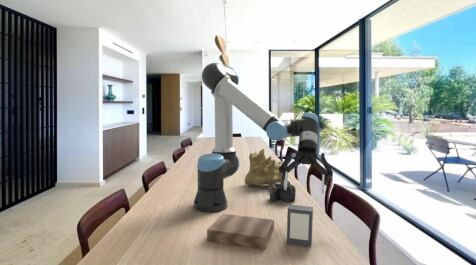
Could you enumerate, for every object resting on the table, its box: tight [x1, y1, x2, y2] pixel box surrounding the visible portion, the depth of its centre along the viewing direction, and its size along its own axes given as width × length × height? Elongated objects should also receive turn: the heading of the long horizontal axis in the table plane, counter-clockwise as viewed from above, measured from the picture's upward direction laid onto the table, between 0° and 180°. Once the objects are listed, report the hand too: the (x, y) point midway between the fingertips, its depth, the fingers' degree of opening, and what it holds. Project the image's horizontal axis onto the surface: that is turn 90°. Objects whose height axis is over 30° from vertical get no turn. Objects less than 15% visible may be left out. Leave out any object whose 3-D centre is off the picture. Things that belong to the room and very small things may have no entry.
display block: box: [206, 213, 275, 250], centre depth 108 cm, size 20×16×4 cm
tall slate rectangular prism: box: [286, 204, 314, 248], centre depth 103 cm, size 8×5×12 cm, turn 73°
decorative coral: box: [244, 148, 283, 187], centre depth 175 cm, size 26×22×25 cm
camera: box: [269, 180, 297, 203], centre depth 149 cm, size 13×10×10 cm
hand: (303, 190), depth 112 cm, fingers open, 13 cm apart
